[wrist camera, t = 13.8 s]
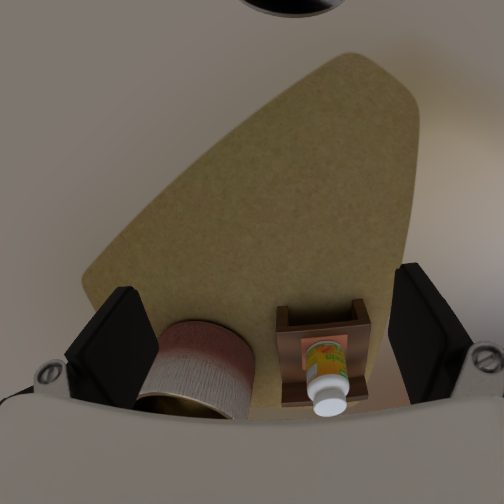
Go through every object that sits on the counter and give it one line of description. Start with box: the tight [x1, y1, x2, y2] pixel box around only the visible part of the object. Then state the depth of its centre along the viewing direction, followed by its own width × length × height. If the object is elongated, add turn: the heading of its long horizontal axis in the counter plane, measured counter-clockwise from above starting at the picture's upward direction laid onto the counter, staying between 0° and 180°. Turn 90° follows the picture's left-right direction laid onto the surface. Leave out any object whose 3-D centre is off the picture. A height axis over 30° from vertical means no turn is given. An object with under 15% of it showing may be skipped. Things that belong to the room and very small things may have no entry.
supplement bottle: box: [306, 341, 349, 417], centre depth 35 cm, size 5×5×10 cm
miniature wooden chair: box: [276, 299, 371, 407], centre depth 41 cm, size 12×13×10 cm
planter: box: [132, 321, 255, 420], centre depth 43 cm, size 18×18×16 cm
